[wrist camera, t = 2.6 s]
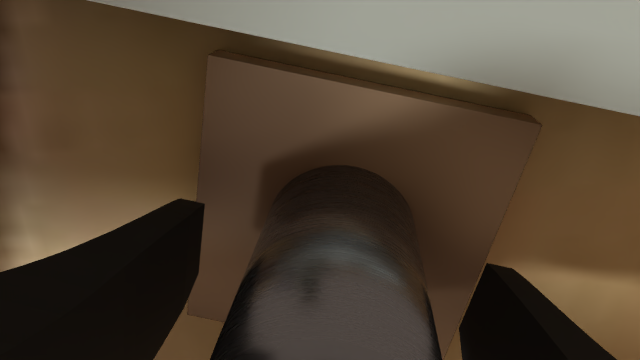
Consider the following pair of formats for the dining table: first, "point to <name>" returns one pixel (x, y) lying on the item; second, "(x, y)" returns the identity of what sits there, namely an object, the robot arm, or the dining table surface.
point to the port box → (455, 38)
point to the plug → (333, 276)
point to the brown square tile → (359, 151)
